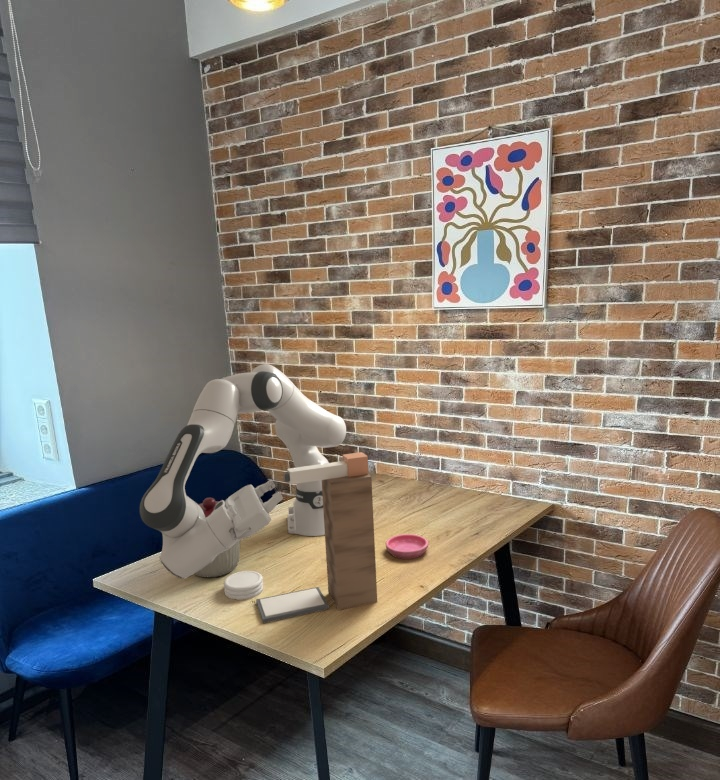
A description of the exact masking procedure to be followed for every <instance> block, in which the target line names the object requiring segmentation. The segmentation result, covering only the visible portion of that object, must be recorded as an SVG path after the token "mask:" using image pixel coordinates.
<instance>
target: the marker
mask: <svg viewBox="0 0 720 780" xmlns="http://www.w3.org/2000/svg"><path fill="white" fill-rule="evenodd" d="M365 474H369V475H370V473H369V457H368V455H367V454H366V453H364V452H362V451H360V452H353V453H345V454H342V460H341V461H334V462H329V463H325V464H318V465H311V466H304V467H297V468H295V467H292V468H291V467H290V468H287V471H285V472H284V471H283V472H282V477H283V482H284V483H289V484H290V485H297V484H298V483H305V482H312V481H318V480H325V479H332V478H339V477H345V476H348V477H352V476H358V475H365Z"/></svg>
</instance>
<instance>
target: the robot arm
mask: <svg viewBox="0 0 720 780" xmlns="http://www.w3.org/2000/svg"><path fill="white" fill-rule="evenodd" d="M301 391H302V390H300V389H299V388H298V387H297V386H296V385H295V383H293V382H292V380H291V379H290V378H289V376H287V375H285V373H283V372H282V371H281V370H280V369H279V368H277V367H275V366H274V365H271V364H269V363H264V364H260V365H259V364H258V365H257V366H256V367H254V368H253V369H252V371H251V372H241V373H238V374H233V375H229V376H222V377H219V378H216V379H212V380H210V381H208V382H207V383H206V384H205V386H204V387H203V389H202V391H201V392H200V394H199V396H198V398H197V400H196V402H195V405H194V407H193V409H192V412H191V416H190V417H189V420H188V422H187V425H186V426H184V427H183V428H182V429H181V430H180V431H179V433H178V434H177V436H176V438H175V440H174V441H173V444H172V446H171V447H170V450H169V452H168V454H167V456H166V457H165V460H164V462H163V464H162V466H161V468H160V471H159V472H158V475H157V477H156V478H155V480H154V481H153V482H152V484H151V485H150V487H149V488H147V490H146V492H145V493H144V494H143V496H142V498H141V500H140V503H139V516H140V519H141V521H142V522H143V523H144V524H145V526H147V527H149V528H150V529H151V528H152V529H154V530H156V531H159V532H160V533H161V534H162V549H161V553H160V555H159V560H160V563H161V565H162V566H163V567H164V569H166V570H167V571H168V572H169V573H170V574H171V575H173V576H174V577H176V578H179V579H187V578H188V577H189V578H190V576H193V575H196V574H195V573H196V572H198V571H199V570H201V569H202V568H204V567H205V566H207V565H208V564H209V563H211V562H212V561H213V560H214V559H215V557H216V556H217V555H218V554H220V553H221V552H224V551H226V550H228V549H229V548H230V547H232V546H233V545H234V544H236V543H237V542H238V541H240V542H241V540H242V539H247V538H249V537H251V536H253V535H254V534H256V533H257V532H259V531H260V530H262V529H264V528H265V527H267V525H269V524H270V522H271V521H272V517H271V516H270V513H271V512H272V511H273V510H274V509H275V508H276V507H277V505H278V504H279V503H280V502H281V501H282V500H283V499H284V497H283V495H282V494H281V492H280V491H276V492H275V493H273V494H272V495H271V496H272V497H271V498H269V499H268V500H267V501H265V502H263V500H262V499H261V497H263V496H264V494H265V493H267V492H269V491H272V490H273V489H275V487H276V485H275V484H276V483H274V481H273V480H272V479H269V480H267V482H265V483H262V484H260V485H257V486H256V487H254V486H253V485H252V484H247V485H245V486H243V487H241V488H240V489H239V490H237V491H236V492H234V493H233V494H231V495H230V496H228V498H227V497H226V499H225V500H223V499H221V500H220V502H218V503H217V504H216V506H215V509H214V511H213V512H212V513H211V514H210V515H209V516H208V517H205V515H204V512H203V510H202V508H201V507H200V506H199V505H198V504H199V503H197V502H196V501H194V499H192V498H191V497H189V496H188V495H187V493H186V489H185V488H186V487H185V486H186V483H187V480H188V478H189V476H190V474H191V471H192V469H193V466H194V464H195V462H196V460H197V459H198V457H199V455H200V454H202V453H203V454H214V453H217V452H219V451H221V450H223V449H224V448H226V447H227V445H228V443H229V441H230V439H231V438H232V435H233V431H234V427H235V425H236V421H237V417H238V414H239V415H240V414H249V413H254V412H255V413H256V412H260V411H268V413H269V414H271V416H272V417H273V418H274V419H275V423H274V431H275V434H276V436H277V437H278V439H280V440H281V442H283V444H284V445H285V446H286V448H287V450H288V452H289V454H290V457H291V460H292V461H293V465H294V468H297V467H304V466H311V465H318V464H325V463H330V462H329V460H328V459H327V458H326V457H325V456H324V455H323V454H322V453H321V452H320V450H319V448H321V449H323V448H325V449H326V448H327V449H328V448H334V447H338V446H340V445H341V444H342V443H343V442H344V440H345V439H346V437H347V436H346V435H347V424H346V422H345V421H344V419H343V418H342V417H341V416H339V415H337V414H334V413H332V412H330V411H328V410H326V409H324V408H323V407H322V406H320V405H319V404H317V403H315V402H314V401H313V400H311V399H310V398H308V397H307V396H306V395H305V394H304V393H303V392H301ZM294 495H295V496H294V497H295V499H294V501H293V502H292V506H288V514H287V533H288V534H293V535H300V536H304V537H306V536H307V537H316V536H317V537H318V536H319V537H320V536H325V528H324V512H323V496H322V480H318V481H312V482H305V483H298V484H296V487H295V493H294Z"/></svg>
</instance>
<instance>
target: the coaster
mask: <svg viewBox="0 0 720 780" xmlns="http://www.w3.org/2000/svg"><path fill="white" fill-rule="evenodd" d="M263 580H264V578H263V575H262V574H261V573H259V572H257V571H254V570H241V571H238V572H234V573H231V574H230V575H228V576H227V577H226V578H224V581H223V586H224V587H223V590H224V594H225V596H226V597H227V598H228V597H229V598H228V599H230V598H231V599H230V600H234V599H237V600H236V601H242V600H243V601H244V600H249V599H253V598H254V597H257V596H259V594H261V593H262V592H263V589H264V581H263Z"/></svg>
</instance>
